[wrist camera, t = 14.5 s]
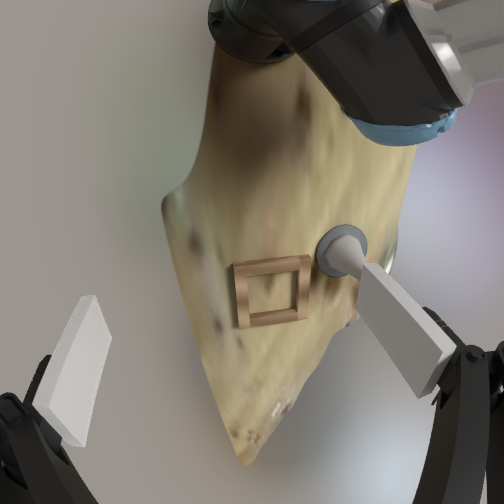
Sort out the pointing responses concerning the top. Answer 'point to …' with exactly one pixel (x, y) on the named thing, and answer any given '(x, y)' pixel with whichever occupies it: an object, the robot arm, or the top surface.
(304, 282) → the holder
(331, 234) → the coaster
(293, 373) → the top surface
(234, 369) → the top surface
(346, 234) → the flask
